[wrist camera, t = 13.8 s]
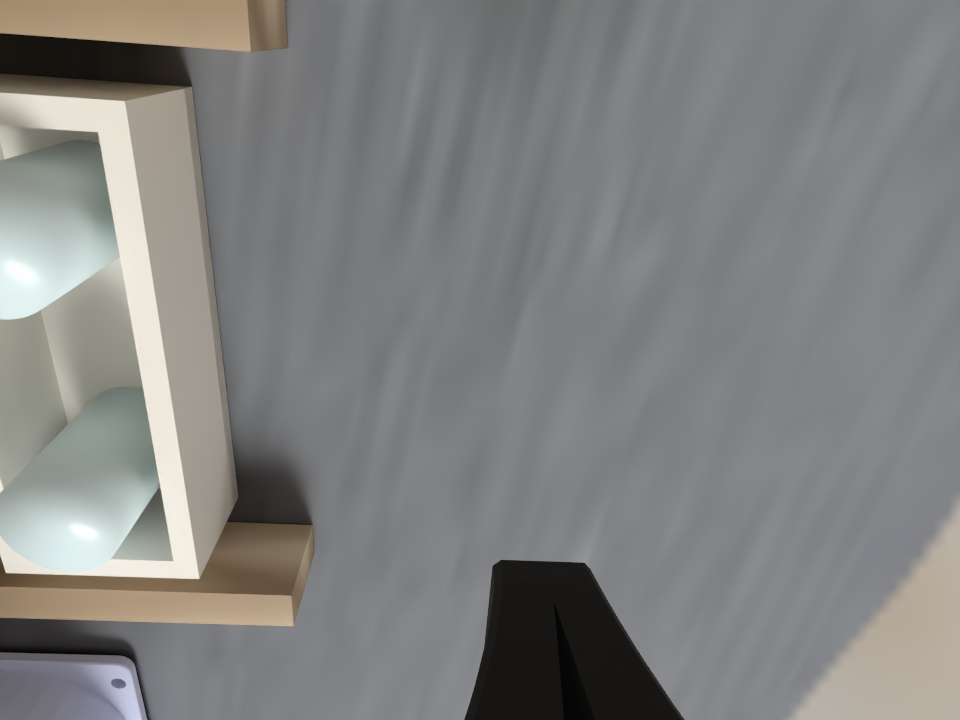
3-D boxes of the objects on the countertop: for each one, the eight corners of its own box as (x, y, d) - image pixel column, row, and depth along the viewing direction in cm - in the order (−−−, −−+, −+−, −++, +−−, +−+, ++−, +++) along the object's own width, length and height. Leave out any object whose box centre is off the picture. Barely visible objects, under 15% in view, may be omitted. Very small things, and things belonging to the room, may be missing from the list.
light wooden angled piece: (314, 553, 22) (276, 686, 18) (-83, 539, 21) (-228, 674, 17) (284, -12, 15) (207, -30, 10) (-317, -60, 14) (-676, -102, 10)
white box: (238, 496, 21) (182, 614, 17) (74, 490, 21) (-24, 608, 16) (192, 87, 16) (93, 107, 11) (-29, 71, 15) (-213, 86, 11)
